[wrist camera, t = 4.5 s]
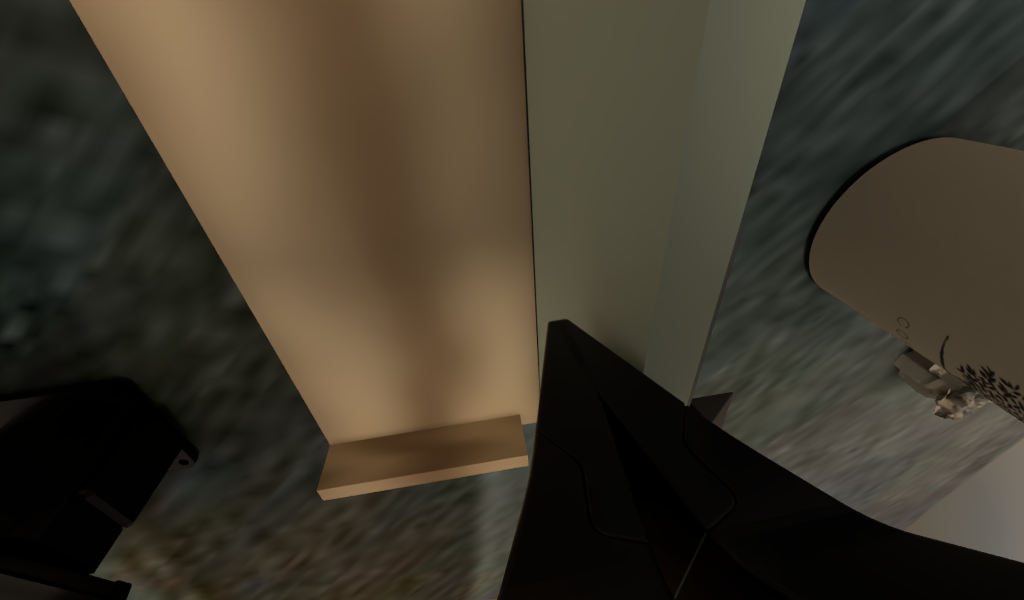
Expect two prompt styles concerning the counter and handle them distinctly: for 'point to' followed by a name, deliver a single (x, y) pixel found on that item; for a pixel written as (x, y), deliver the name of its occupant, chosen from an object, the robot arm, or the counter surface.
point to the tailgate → (647, 164)
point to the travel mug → (937, 259)
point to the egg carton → (939, 386)
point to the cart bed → (359, 208)
